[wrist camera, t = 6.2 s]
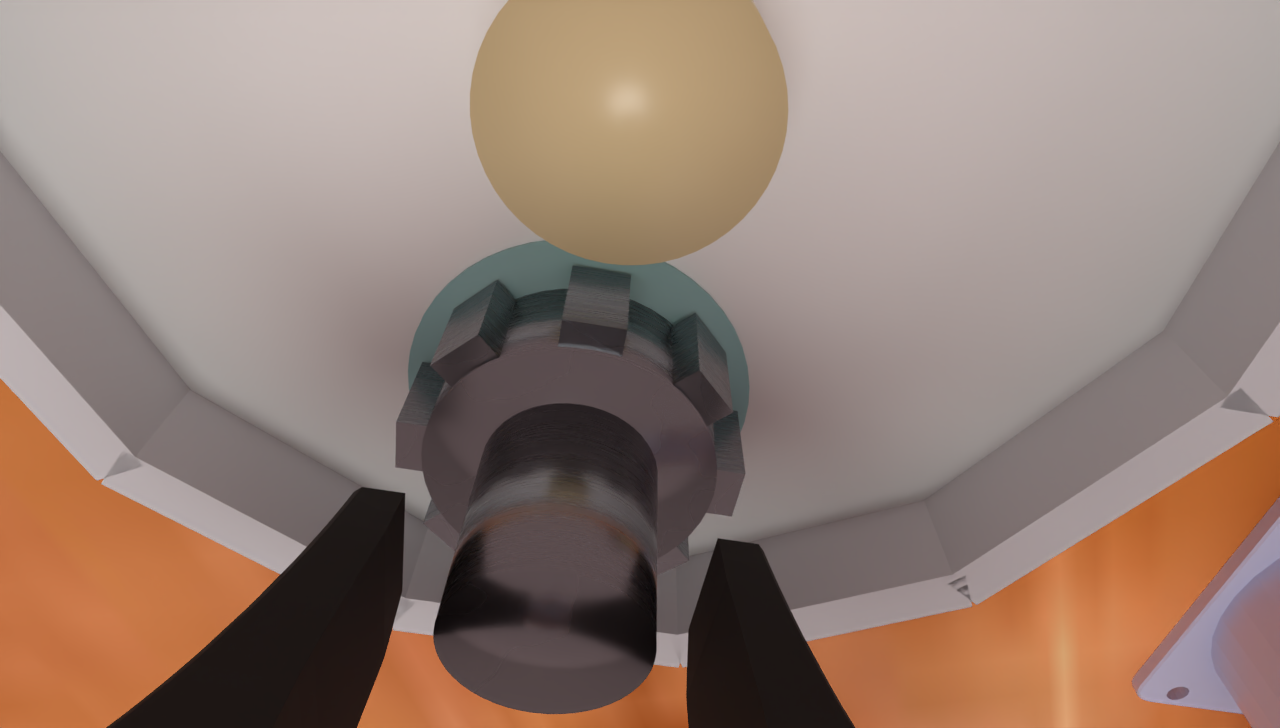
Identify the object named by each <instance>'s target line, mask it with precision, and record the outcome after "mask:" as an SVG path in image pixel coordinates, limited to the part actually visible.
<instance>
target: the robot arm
mask: <svg viewBox="0 0 1280 728" xmlns="http://www.w3.org/2000/svg"><path fill="white" fill-rule="evenodd" d="M404 520H405V493H401V492H394V491H387V490H380V489H373V488H366V487H361V488H359V489H358V490H356V491H354V492H353V493H352V495H351V496H350V497H349V498H348V500H347V501H346V502H345V503H344V505H343V506H342V507H341V508H340V509H339V511H338V512H337V513H336V514H335V515H334V517H333V518H332V519H331V520H330V521H329V522H328V524H327V525H326V526H325V527H324V528H323V529H322V531H321V532H320V533H319V534H318V535H317V536H316V537H315V538H314V539H313V541H312V542H311V543H310V544H309V545H308V546H307V547H306V548H305V549H304V550H303V552H302V553H301V554H300V555H299V556H298V557H297V558H296V559H295V560H294V561H293V562H292V563H291V564H290V565H289V566H288V567H287V568H286V569H285V570H284V571H283V572H282V574H281V575H280V576H279V577H278V578H277V579H276V580H275V581H274V582H273V583H272V584H271V585H270V586H269V587H268V588H267V589H266V590H265V591H264V592H263V593H262V594H261V595H260V596H259V597H258V598H257V599H256V600H255V601H254V602H253V603H252V604H251V605H250V606H249V607H248V608H247V609H246V610H245V611H244V612H242V613H241V614H240V615H239V616H238V617H237V618H236V619H235V620H234V621H233V622H232V623H231V624H230V625H228V626H227V627H226V628H225V629H224V630H223V631H222V632H221V633H220V634H219V635H218V636H217V637H215V638H214V639H213V640H212V641H211V642H210V643H209V644H208V645H207V646H206V647H205V648H204V649H202V650H201V651H200V652H199V653H198V654H197V655H196V656H195V657H193V658H192V659H191V660H190V661H189V662H188V663H186V664H185V665H184V666H183V667H182V668H181V669H179V670H178V671H177V672H176V673H175V674H173V675H172V676H171V677H170V678H169V679H168V680H166V681H165V682H164V683H163V684H161V685H160V686H159V687H158V688H157V689H155V690H154V691H153V692H152V693H150V694H149V695H148V696H147V697H145V698H144V699H143V700H142V701H140V702H139V703H138V704H137V705H135V706H134V707H133V708H132V709H130V710H129V711H128V712H126V713H125V714H124V715H122V716H121V717H120V718H118V719H117V720H116V721H114V722H113V723H112V724H110V725H109V726H108V727H106V728H357V726H358V723H359V721H360V718H361V715H362V713H363V710H364V708H365V705H366V703H367V700H368V698H369V695H370V693H371V690H372V688H373V685H374V682H375V680H376V677H377V675H378V672H379V670H380V667H381V664H382V662H383V659H384V656H385V652H386V649H387V645H388V642H389V638H390V635H391V631H392V628H393V624H394V620H395V616H396V613H397V609H398V605H399V602H400V598H401V594H402V586H403V553H404ZM1132 686H1133V688H1134V689H1135V691H1136V693H1137V695H1138V696H1139V697H1140V698H1141V699H1143V700H1146V701H1150V702H1157V703H1164V704H1172V705H1179V706H1187V707H1194V708H1202V709H1209V710H1216V711H1224V712H1231V713H1239V714H1244V716H1245V718H1246V719H1247V721H1248V722H1249V724H1250V725H1251V727H1252V728H1280V497H1279V498H1278V499H1277V500H1276V502H1275V503H1274V504H1273V505H1272V507H1271V508H1270V509H1269V510H1268V512H1267V513H1266V514H1265V515H1264V517H1263V518H1262V519H1261V520H1260V521H1259V523H1258V524H1257V525H1256V526H1255V528H1254V529H1253V530H1252V531H1251V533H1250V534H1249V535H1248V536H1247V538H1246V539H1245V540H1244V541H1243V542H1242V544H1241V545H1240V546H1239V547H1238V549H1237V550H1236V551H1235V552H1234V554H1233V555H1232V556H1231V557H1230V558H1229V560H1228V561H1227V562H1226V563H1225V565H1224V566H1223V567H1222V568H1221V570H1220V571H1219V572H1218V573H1217V575H1216V576H1215V577H1214V578H1213V579H1212V581H1211V582H1210V583H1209V584H1208V586H1207V587H1206V588H1205V589H1204V591H1203V592H1202V593H1201V594H1200V596H1199V597H1198V598H1197V599H1196V600H1195V602H1194V603H1193V604H1192V605H1191V607H1190V608H1189V609H1188V610H1187V612H1186V613H1185V614H1184V615H1183V617H1182V618H1181V619H1180V620H1179V621H1178V623H1177V624H1176V625H1175V626H1174V628H1173V629H1172V630H1171V631H1170V633H1169V634H1168V635H1167V636H1166V638H1165V639H1164V640H1163V641H1162V642H1161V644H1160V645H1159V646H1158V647H1157V649H1156V650H1155V651H1154V652H1153V654H1152V655H1151V656H1150V657H1149V659H1148V660H1147V661H1146V662H1145V663H1144V665H1143V666H1142V667H1141V668H1140V670H1139V671H1138V672H1137V673H1136V675H1135V676H1134V678H1133V680H1132ZM686 698H687V711H688V724H689V728H855V727H854V725H853V723H852V722H851V720H850V718H849V717H848V715H847V713H846V712H845V710H844V709H843V707H842V705H841V703H840V702H839V700H838V698H837V697H836V695H835V693H834V691H833V690H832V688H831V686H830V684H829V683H828V681H827V679H826V677H825V675H824V673H823V672H822V670H821V668H820V666H819V664H818V662H817V660H816V659H815V657H814V655H813V653H812V651H811V649H810V648H809V646H808V644H807V642H806V640H805V638H804V636H803V634H802V632H801V630H800V628H799V626H798V624H797V622H796V620H795V618H794V616H793V614H792V612H791V610H790V608H789V606H788V604H787V602H786V600H785V597H784V595H783V593H782V591H781V589H780V587H779V585H778V582H777V580H776V578H775V576H774V574H773V571H772V569H771V567H770V565H769V562H768V560H767V558H766V555H765V553H764V551H763V549H762V548H761V547H760V545H759V544H754V543H748V542H741V541H734V540H727V539H720V538H718V539H717V542H716V545H715V548H714V551H713V554H712V557H711V561H710V564H709V567H708V570H707V573H706V576H705V579H704V582H703V586H702V589H701V592H700V595H699V598H698V601H697V604H696V607H695V611H694V614H693V617H692V620H691V623H690V626H689V629H688V655H687V697H686Z"/></svg>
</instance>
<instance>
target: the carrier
mask: <svg viewBox="0 0 1280 728" xmlns="http://www.w3.org/2000/svg"><path fill="white" fill-rule="evenodd" d="M573 265H574V266H580V267H586V268H591V269H597V270H603V271H609V272H615V273H621V274H627V275H631V282H630V297H629V299H631V300H633V301H636V302H638V303H640V304H642V305H644V306H646V307H648V308H650V309H652V310H653V311H655V312H656V313H658V314H659V315H661V316H662V317H664V318H666V319H667V320H668V321H669V322H670V323H671V324H673V325H675V324H677V323H679V322H680V321H682V320H684V319H685V318H687V317H689V316H691V315H692V314H694V313H696V314H697V315H698V316H699V317H700V319H701V320H702V321H703V323H704V324H705V325H706V327H707V328H708V329H709V331H710V332H711V333H712V335H713V336H714V337H715V339H716V340H717V341H718V343H719V344H720V345H721V346H722V348H723V349H724V350H725V352H726V356H727V365H728V373H729V382H730V390H731V398H732V407H733V410H735V411H738V419H739V427H740V435H741V442H742V450H743V458H744V466H745V477H744V480H743V484H742V487H741V490H740V493H739V496H738V499H737V502H736V505H735V508H734V511H733V514H732V517H731V516H725V515H718V514H711V513H706V514H705V516H704V517H703V519H702V521H701V522H700V524H699V525H698V526H697V527H696V528H695V530H694V531H693V532H692V533H691V534H690V535H689V536H688V544H689V561H687V562H685V563H683V564H681V565H679V566H677V567H675V568H672V569H670V570H668V571H666V572H664V573H662V574H660V575H657V652H656V658H655V662H654V664H655V665H662V666H670V667H679V664H680V663H681V665H682V667H687V655H688V629H689V626H690V623H691V620H692V617H693V614H694V611H695V607H696V604H697V601H698V598H699V595H700V592H701V589H702V586H703V582H704V579H705V576H706V573H707V570H708V567H709V564H710V561H711V557H712V554H713V551H714V548H715V545H716V542H717V539H718V538H720V539H727V540H734V541H741V542H748V543H754V544H759V545H760V547H761V548H762V549H763V551H764V553H765V555H766V558H767V560H768V562H769V565H770V567H771V569H772V571H773V574H774V576H775V578H776V580H777V582H778V585H779V587H780V589H781V591H782V593H783V595H784V597H785V600H786V602H787V604H788V606H789V608H790V610H791V612H792V614H793V616H794V618H795V620H796V622H797V624H798V626H799V628H800V630H801V632H802V634H803V636H804V638H805V640H806V641H811V640H816V639H821V638H825V637H830V636H835V635H840V634H845V633H849V632H854V631H859V630H864V629H868V628H873V627H878V626H883V625H887V624H892V623H897V622H902V621H906V620H911V619H916V618H921V617H925V616H930V615H935V614H940V613H945V612H949V611H954V610H959V609H964V608H968V607H972V603H971V601H972V602H973V603H975V604H976V605H977V604H979V603H981V602H982V601H984V600H986V599H987V598H989V597H990V596H992V595H994V594H995V593H997V592H998V591H1000V590H1002V589H1003V588H1005V587H1007V586H1008V585H1010V584H1011V583H1013V582H1015V581H1016V580H1018V579H1019V578H1021V577H1023V576H1024V575H1026V574H1028V573H1029V572H1031V571H1032V570H1034V569H1036V568H1037V567H1039V566H1040V565H1042V564H1044V563H1045V562H1047V561H1049V560H1050V559H1052V558H1053V557H1055V556H1057V555H1058V554H1060V553H1061V552H1063V551H1065V550H1066V549H1068V548H1070V547H1071V546H1073V545H1074V544H1076V543H1078V542H1079V541H1081V540H1083V539H1084V538H1086V537H1087V536H1089V535H1091V534H1092V533H1094V532H1095V531H1097V530H1099V529H1100V528H1102V527H1104V526H1105V525H1107V524H1108V523H1110V522H1112V521H1113V520H1115V519H1116V518H1118V517H1120V516H1121V515H1123V514H1125V513H1126V512H1128V511H1129V510H1131V509H1133V508H1134V507H1136V506H1137V505H1139V504H1141V503H1142V502H1144V501H1146V500H1147V499H1149V498H1150V497H1152V496H1154V495H1155V494H1157V493H1158V492H1160V491H1162V490H1163V489H1165V488H1167V487H1168V486H1170V485H1171V484H1173V483H1175V482H1176V481H1178V480H1179V479H1181V478H1183V477H1184V476H1186V475H1188V474H1189V473H1191V472H1192V471H1194V470H1196V469H1197V468H1199V467H1200V466H1202V465H1204V464H1205V463H1207V462H1209V461H1210V460H1212V459H1213V458H1215V457H1217V456H1218V455H1220V454H1221V453H1223V452H1225V451H1226V450H1228V449H1230V448H1231V447H1233V446H1234V445H1236V444H1238V443H1239V442H1241V441H1242V440H1244V439H1246V438H1247V437H1249V436H1251V435H1252V434H1254V433H1255V432H1257V431H1259V430H1260V429H1262V428H1264V427H1265V426H1267V425H1268V424H1270V423H1272V422H1273V421H1272V419H1271V418H1270V417H1269V416H1273V417H1279V415H1280V0H0V378H1V379H2V380H3V381H4V382H5V384H6V385H7V386H8V387H9V388H10V389H11V390H12V391H13V392H14V393H15V394H16V395H17V396H18V397H19V398H20V400H21V401H22V402H23V403H24V404H25V405H26V406H27V407H28V408H29V409H30V410H31V411H32V412H33V413H34V414H35V415H36V417H37V418H38V419H39V420H40V421H41V422H42V423H43V424H44V425H45V426H46V427H47V428H48V429H49V430H50V431H51V433H52V434H53V435H54V436H55V437H56V438H57V439H58V440H59V441H60V442H61V443H62V444H63V445H64V446H65V447H66V449H67V450H68V451H69V452H70V453H71V454H72V455H73V456H74V457H75V458H76V459H77V460H78V461H79V462H80V463H81V464H82V466H83V467H84V468H85V469H86V470H87V471H88V472H89V473H90V474H91V475H92V476H93V477H94V478H95V479H96V480H100V479H103V478H104V480H103V482H102V483H101V484H102V485H104V486H106V487H108V488H110V489H112V490H114V491H116V492H118V493H120V494H122V495H124V496H126V497H128V498H130V499H132V500H134V501H136V502H138V503H140V504H142V505H144V506H146V507H148V508H150V509H152V510H154V511H156V512H158V513H160V514H162V515H164V516H166V517H168V518H170V519H172V520H174V521H176V522H178V523H180V524H182V525H184V526H186V527H188V528H190V529H192V530H194V531H196V532H198V533H200V534H201V535H203V536H205V537H207V538H209V539H211V540H213V541H215V542H217V543H219V544H221V545H223V546H225V547H227V548H229V549H231V550H233V551H235V552H237V553H239V554H241V555H243V556H245V557H247V558H249V559H251V560H253V561H255V562H257V563H259V564H261V565H263V566H265V567H267V568H269V569H271V570H273V571H275V572H277V573H279V574H282V572H283V571H284V570H285V569H286V568H287V567H288V566H289V565H290V564H291V563H292V562H293V561H294V560H295V559H296V558H297V557H298V556H299V555H300V554H301V553H302V552H303V550H304V549H305V548H306V547H307V546H308V545H309V544H310V543H311V542H312V541H313V539H314V538H315V537H316V536H317V535H318V534H319V533H320V532H321V531H322V529H323V528H324V527H325V526H326V525H327V524H328V522H329V521H330V520H331V519H332V518H333V517H334V515H335V514H336V513H337V512H338V511H339V509H340V508H341V507H342V506H343V505H344V503H345V502H346V501H347V500H348V498H349V497H350V496H351V495H352V493H353V492H354V491H356V490H358V489H359V488H361V487H366V488H373V489H380V490H387V491H394V492H401V493H405V520H404V553H403V586H402V594H401V598H400V602H399V605H398V609H397V613H396V616H395V620H394V624H393V630H395V631H403V632H410V633H418V634H426V635H433V631H434V625H435V620H436V617H437V613H438V610H439V606H440V603H441V599H442V595H443V592H444V588H445V585H446V581H447V578H448V574H449V571H450V567H451V563H452V560H453V556H454V553H455V551H454V550H453V549H452V548H451V547H450V546H448V545H447V544H446V543H445V542H444V541H443V540H442V539H440V538H439V537H438V536H437V535H436V534H435V533H434V532H433V531H431V530H430V529H429V528H428V527H427V526H426V525H425V524H423V522H424V519H425V516H426V513H427V510H428V507H429V504H430V501H431V496H430V494H429V491H428V489H427V486H426V483H425V480H424V475H423V471H416V470H410V469H403V468H396V467H395V456H396V421H397V419H398V416H399V414H400V412H401V409H402V407H403V405H404V403H405V400H406V398H407V396H408V393H409V391H410V389H411V387H412V384H413V382H414V380H415V377H416V375H417V373H418V371H419V368H420V366H421V364H422V362H427V363H431V362H432V359H433V357H434V355H435V352H436V350H437V347H438V345H439V343H440V340H441V338H442V335H443V333H444V331H445V328H446V326H447V324H448V321H449V319H450V316H451V314H452V312H453V309H454V308H455V307H457V306H458V305H460V304H461V303H463V302H464V301H466V300H468V299H469V298H471V297H472V296H474V295H475V294H477V293H478V292H480V291H481V290H483V289H484V288H486V287H487V286H489V285H490V284H492V283H493V282H495V281H496V280H498V281H499V282H500V283H501V284H502V286H503V287H504V288H505V289H506V290H507V291H508V292H509V294H510V295H511V296H512V297H513V298H514V299H517V298H520V297H522V296H525V295H529V294H533V293H537V292H540V291H546V290H554V289H568V286H569V281H570V276H571V271H572V266H573Z"/></svg>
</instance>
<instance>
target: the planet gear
mask: <svg viewBox="0 0 1280 728" xmlns="http://www.w3.org/2000/svg"><path fill="white" fill-rule="evenodd" d="M630 282H631V275H627V274H621V273H615V272H609V271H603V270H597V269H591V268H586V267H580V266H574V265H573V266H572V271H571V276H570V281H569V286H568V289H554V290H546V291H540V292H537V293H533V294H529V295H525V296H522V297H520V298H517V299H514V298H513V297H512V296H511V295H510V294H509V292H508V291H507V290H506V289H505V288H504V287H503V286H502V284H501V283H500V282H499V281H498V280H496V281H495V282H493V283H492V284H490V285H489V286H487V287H486V288H484V289H483V290H481V291H480V292H478V293H477V294H475V295H474V296H472V297H471V298H469V299H468V300H466V301H464V302H463V303H461V304H460V305H458V306H457V307H455V308H454V309H453V312H452V314H451V316H450V319H449V321H448V324H447V326H446V328H445V331H444V333H443V335H442V338H441V340H440V343H439V345H438V347H437V350H436V352H435V355H434V357H433V359H432V362H431V363H427V362H422V364H421V366H420V368H419V371H418V373H417V375H416V377H415V380H414V382H413V384H412V387H411V389H410V391H409V393H408V396H407V398H406V400H405V403H404V405H403V407H402V409H401V412H400V414H399V416H398V419H397V421H396V456H395V467H396V468H403V469H410V470H416V471H423V475H424V480H425V483H426V486H427V489H428V491H429V494H430V496H431V501H430V504H429V507H428V510H427V513H426V516H425V519H424V522H423V524H425V525H426V526H427V527H428V528H429V529H430V530H431V531H433V532H434V533H435V534H436V535H437V536H438V537H439V538H440V539H442V540H443V541H444V542H445V543H446V544H447V545H448V546H450V547H451V548H452V549H453V550H454V551H455V553H454V556H453V560H452V563H451V567H450V571H449V574H448V578H447V581H446V585H445V588H444V592H443V595H442V599H441V603H440V606H439V610H438V613H437V617H436V620H435V625H434V631H433V636H434V645H435V649H436V652H437V654H438V657H439V659H440V661H441V662H442V664H443V665H444V667H445V668H446V670H447V671H448V672H449V673H450V674H451V675H452V676H453V678H455V679H456V680H457V681H458V682H459V683H460V684H461V685H463V686H464V687H466V688H467V689H469V690H470V691H471V692H473V693H475V694H477V695H479V696H480V697H482V698H484V699H487V700H489V701H491V702H493V703H496V704H499V705H502V706H505V707H508V708H512V709H516V710H520V711H526V712H532V713H543V714H567V713H577V712H583V711H589V710H593V709H597V708H600V707H603V706H606V705H609V704H611V703H613V702H616V701H618V700H620V699H622V698H623V697H625V696H627V695H628V694H630V693H631V692H632V691H634V690H635V689H636V688H637V687H638V686H640V684H641V683H642V682H643V681H644V680H645V679H646V678H647V676H648V674H649V673H650V671H651V669H652V667H653V664H654V662H655V658H656V652H657V575H660V574H662V573H664V572H666V571H668V570H670V569H672V568H675V567H677V566H679V565H681V564H683V563H685V562H687V561H689V544H688V536H689V535H690V534H691V533H692V532H693V531H694V530H695V528H696V527H697V526H698V525H699V524H700V522H701V521H702V519H703V517H704V516H705V514H706V513H711V514H718V515H725V516H731V517H732V514H733V511H734V508H735V505H736V502H737V499H738V496H739V493H740V490H741V487H742V484H743V480H744V477H745V466H744V458H743V450H742V442H741V435H740V427H739V419H738V411H735V410H733V407H732V398H731V390H730V382H729V373H728V365H727V356H726V352H725V350H724V349H723V348H722V346H721V345H720V344H719V343H718V341H717V340H716V339H715V337H714V336H713V335H712V333H711V332H710V331H709V329H708V328H707V327H706V325H705V324H704V323H703V321H702V320H701V319H700V317H699V316H698V315H697V314H696V313H694V314H692V315H691V316H689V317H687V318H685V319H684V320H682V321H680V322H679V323H677V324H675V325H673V324H671V323H670V322H669V321H668V320H667V319H666V318H664V317H662V316H661V315H659V314H658V313H656V312H655V311H653V310H652V309H650V308H648V307H646V306H644V305H642V304H640V303H638V302H636V301H633V300H631V299H629V297H630Z"/></svg>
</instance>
